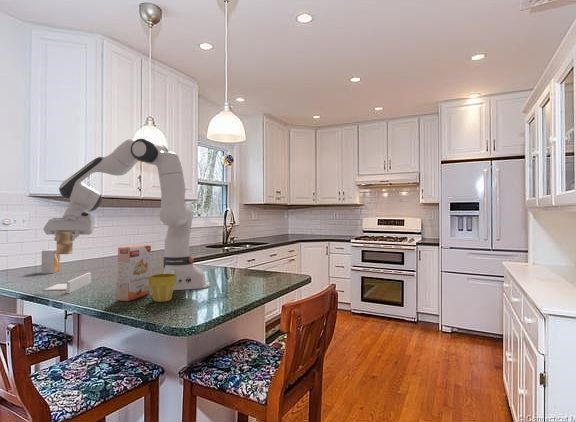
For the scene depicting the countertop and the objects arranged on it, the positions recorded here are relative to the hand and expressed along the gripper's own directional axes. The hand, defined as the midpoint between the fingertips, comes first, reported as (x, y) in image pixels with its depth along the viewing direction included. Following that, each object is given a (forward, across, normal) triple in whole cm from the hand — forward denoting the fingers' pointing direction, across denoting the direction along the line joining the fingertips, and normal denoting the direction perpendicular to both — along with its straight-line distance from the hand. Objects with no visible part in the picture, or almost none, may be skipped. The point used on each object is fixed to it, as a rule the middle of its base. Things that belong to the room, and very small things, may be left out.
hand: (64, 240), depth 158 cm
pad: (+15, 0, +16) cm, 22 cm away
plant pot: (+36, +48, -5) cm, 60 cm away
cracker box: (+32, +36, -1) cm, 48 cm away
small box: (-17, -26, +49) cm, 58 cm away
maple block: (+4, 0, +5) cm, 6 cm away
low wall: (+16, +7, +15) cm, 23 cm away
